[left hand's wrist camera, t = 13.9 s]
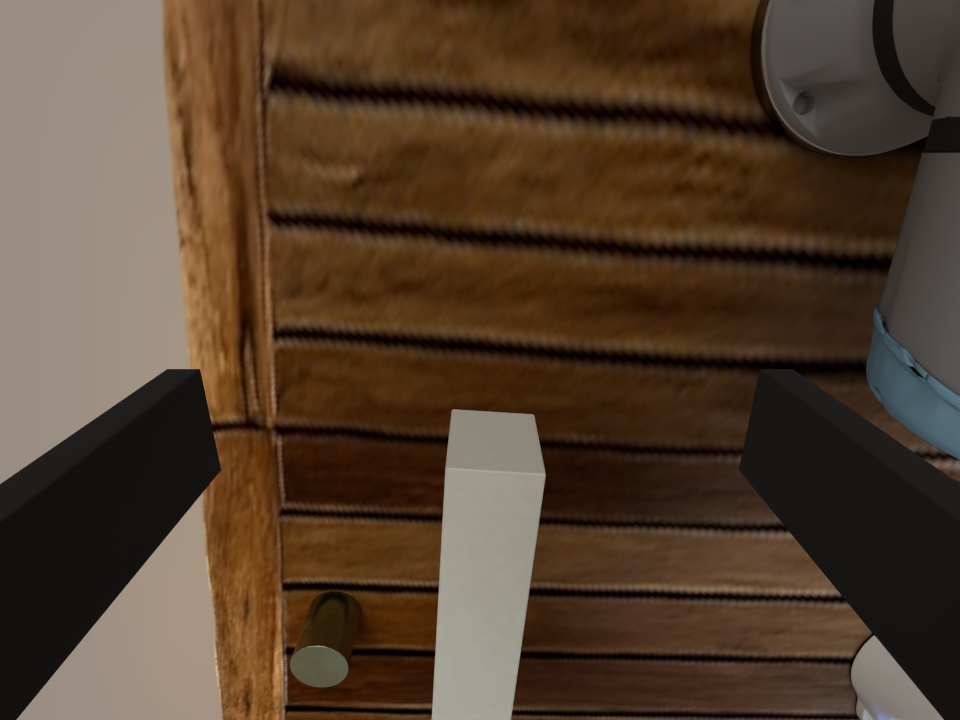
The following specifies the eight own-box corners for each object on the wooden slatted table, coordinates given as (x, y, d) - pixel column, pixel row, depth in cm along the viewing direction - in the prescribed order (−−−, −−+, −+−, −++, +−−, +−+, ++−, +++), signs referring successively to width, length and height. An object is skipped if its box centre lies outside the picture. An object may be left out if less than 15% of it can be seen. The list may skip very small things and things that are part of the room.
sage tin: (360, 591, 51) (346, 646, 45) (362, 630, 52) (350, 687, 47) (307, 591, 50) (287, 646, 45) (312, 630, 52) (293, 687, 47)
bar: (534, 413, 26) (546, 474, 21) (494, 734, 35) (496, 825, 30) (451, 408, 25) (445, 468, 21) (433, 731, 35) (426, 822, 30)
